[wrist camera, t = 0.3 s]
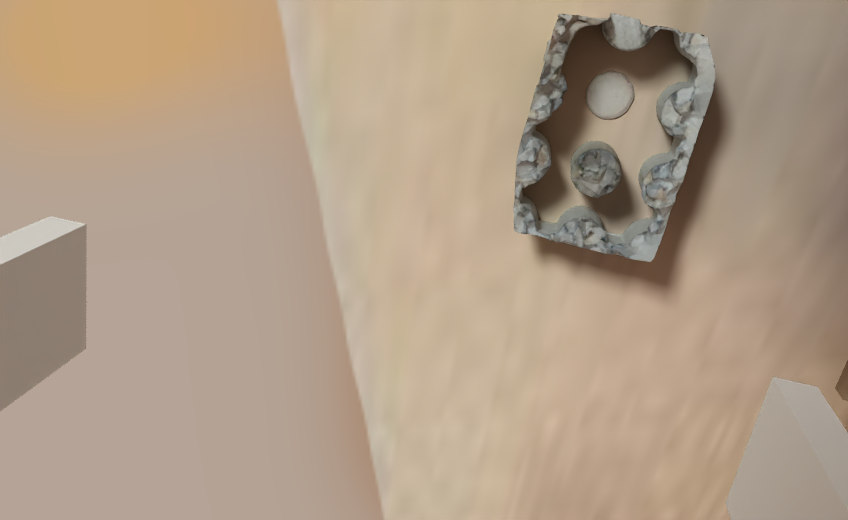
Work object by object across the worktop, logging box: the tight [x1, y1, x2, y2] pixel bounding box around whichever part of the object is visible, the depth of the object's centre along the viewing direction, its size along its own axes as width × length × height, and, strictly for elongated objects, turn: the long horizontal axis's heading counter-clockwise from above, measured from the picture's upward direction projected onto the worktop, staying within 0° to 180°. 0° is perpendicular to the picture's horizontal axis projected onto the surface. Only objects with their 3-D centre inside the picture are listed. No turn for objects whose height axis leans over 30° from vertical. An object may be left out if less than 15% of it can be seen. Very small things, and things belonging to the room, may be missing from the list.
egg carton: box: [514, 14, 715, 262], centre depth 35 cm, size 11×8×4 cm
